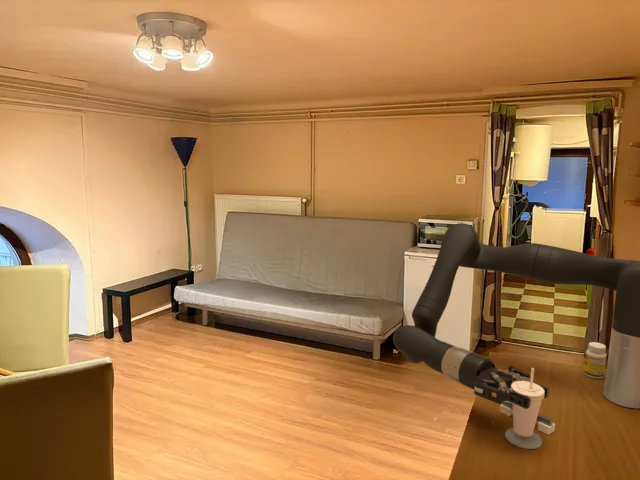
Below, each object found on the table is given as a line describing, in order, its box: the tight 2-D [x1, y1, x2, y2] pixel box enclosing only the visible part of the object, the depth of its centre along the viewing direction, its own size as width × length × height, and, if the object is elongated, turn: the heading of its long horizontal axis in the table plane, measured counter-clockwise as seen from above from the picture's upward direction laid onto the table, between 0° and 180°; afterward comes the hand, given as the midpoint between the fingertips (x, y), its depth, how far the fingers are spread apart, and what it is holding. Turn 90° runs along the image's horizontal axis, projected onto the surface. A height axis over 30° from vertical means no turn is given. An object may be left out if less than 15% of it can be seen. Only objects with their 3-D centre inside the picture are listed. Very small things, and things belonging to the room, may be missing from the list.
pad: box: [504, 427, 543, 450], centre depth 101 cm, size 7×7×1 cm
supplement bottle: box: [583, 341, 607, 379], centre depth 130 cm, size 5×5×8 cm
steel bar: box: [502, 401, 554, 426], centre depth 108 cm, size 11×1×1 cm, turn 38°
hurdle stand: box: [499, 403, 556, 435], centre depth 108 cm, size 11×2×2 cm, turn 38°
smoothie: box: [510, 367, 545, 437], centre depth 100 cm, size 6×6×14 cm
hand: (538, 398), depth 98 cm, fingers closed on smoothie, 6 cm apart
